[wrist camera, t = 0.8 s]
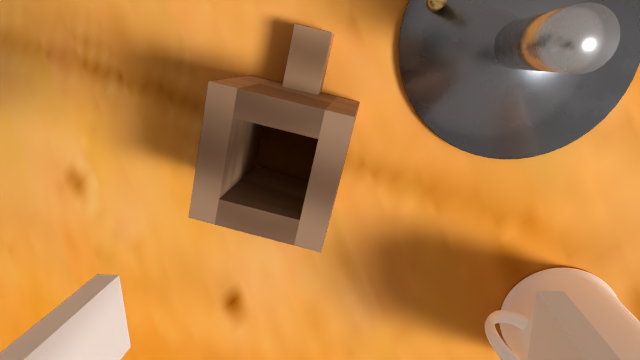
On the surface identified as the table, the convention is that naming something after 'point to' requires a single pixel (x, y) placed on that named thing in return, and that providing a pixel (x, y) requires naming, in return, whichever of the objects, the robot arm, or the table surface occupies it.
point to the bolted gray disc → (517, 69)
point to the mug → (585, 292)
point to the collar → (244, 139)
